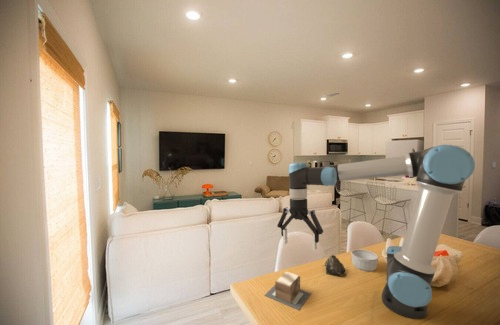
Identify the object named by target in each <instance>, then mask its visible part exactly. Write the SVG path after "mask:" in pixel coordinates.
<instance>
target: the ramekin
mask: <svg viewBox="0 0 500 325" xmlns="http://www.w3.org/2000/svg"><path fill="white" fill-rule="evenodd" d="M350 255H351V262H352V266H354V267H355V268H356V269H358V270H360V271H364V272H374V271H375V270H376V269H377V266H378V261H379V256H378V254H376V253H375V252H373V251H370V250H367V249H363V248H362V249H359V248H357V249H356V248H355V249H352V250H351V252H350Z"/></svg>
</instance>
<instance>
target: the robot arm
mask: <svg viewBox="0 0 500 325" xmlns="http://www.w3.org/2000/svg"><path fill="white" fill-rule="evenodd" d="M475 168H476V162H475V159H474V157H473V155H472V154H471V153H470V152H469V151H468V150H467V149H465V148H464V147H461V146H459V145H453V144H440V145H439V144H438V145H437V146H436V145H435V146H432V147H428V148H425V149H422V150H418V151H413V152H408V153H407V152H406V154H405V155H402V156H395V157H388V158H387V157H386V158H379V159H378V158H377V159H371V160H362V161H356V162H354V161H353V162H348V163H341V164H331V165H325V166H321V167H320V166H318V167H317V166H315V167H313V166H312V167H309V166H307V162H292V163H290V164H288V182H289V185H288V186H289V208H288V207H287V206H286V207H284V208H283V209H282V214H281V217H280V219H279V221H278V223H277V228H280V229H281V232H280V233H281V235H280V236H281V237H282V240H283V245H287V244H288V228H287V227H288V225H289V224H290V223H291V222H292V220H298V221H303V222H305V224H307V226H308V227H309V229H310V231H311V232H312V233H313V234H312V250H313V251H314V252H315V251H316V250H317V249H318V244H317V243H319V241H320V235H322V234H323V233H324V230H323V227H322V225H321V224H320V221H319V220H318V217H317V216H316V211H315V209H312V210H309V209H308V186H324V187H328V186H335V185H336V184H337V182H343V181H345V182H346V181H354V180H366V179H367V180H368V179H377V178H378V179H379V178H387V177H388V178H389V177H390V178H391V177H401V176H409V177H410V178H416V179H415V182H416V184H417V185H418V187H419V188H418V193H417V194H416V195H417V196H416V199H415V202H414V205H413V209H412V212H411V215H410V218H409V221H408V225H407V229H406V232H405V236H404V239H403V241H402V245H401V246H400V245H389V246H388V247H387V248H386V253H385V254H386V282H385V285H384V287H383V289H382V292H381V301H382V304H383V305H384V306H385V307H386V308H387V309H389V311H390V310H391V311H392V312H393V313H395V314H397V315H400V316H403V317H404V318H405V317H406V318H410V319H415V320H416V319H417V320H418V319H424V318H426V317H427V315H428V311H429V310H428V304H429V303H431V301H432V299H433V290H432V286H431V285H432V282H433V279H434V276H435V274H436V269H435V267H433V264H432V261H433V258H434V256H435V252H436V250H437V246H438V244H439V240H440V236H441V234H442V231H443V228H444V225H445V222H446V219H447V216H448V212H449V210H450V206H451V203H452V199H453V198H454V196H455V195H456V194H459V193H462V190H463V188H464V185H465V182H466V180H468V179H469V178H470V177H471V176H472V175H473V174H474V171H475ZM288 214H290V215H289V217H288V218H287V220H286V217H287V215H288ZM308 215H309V216H310V217H311V219H310V218H309V216H308ZM285 220H286V221H285ZM311 220H312V221H311Z"/></svg>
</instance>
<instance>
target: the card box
mask: <svg viewBox="0 0 500 325" xmlns="http://www.w3.org/2000/svg"><path fill="white" fill-rule="evenodd" d="M274 283H275V284H274V285H275V297H276V298H279V299H281V300H284V301H286V302H289V303H291V302H292V301H293V300H294V298H295V297H296V296H297V294H298V293H299V292H300V289H301V276H300V275H298V274H295V273H292V272H290V271H285V272H283V274H282V275H281V276H280V277H279V278H278V279H277V280H276V281H275V282H274Z"/></svg>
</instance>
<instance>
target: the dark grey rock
mask: <svg viewBox="0 0 500 325" xmlns="http://www.w3.org/2000/svg"><path fill="white" fill-rule="evenodd" d="M324 267H325V274H326V275H330V274H331V275H337V276H339V277H342V276H345V273H346V268H345V265H344V264H343V263H342V262H341V261H340V259H339V258H338V257H337V256H336V255H334V254H331V255H330V256H328V258H327V259H326V260H325V262H324Z"/></svg>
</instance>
